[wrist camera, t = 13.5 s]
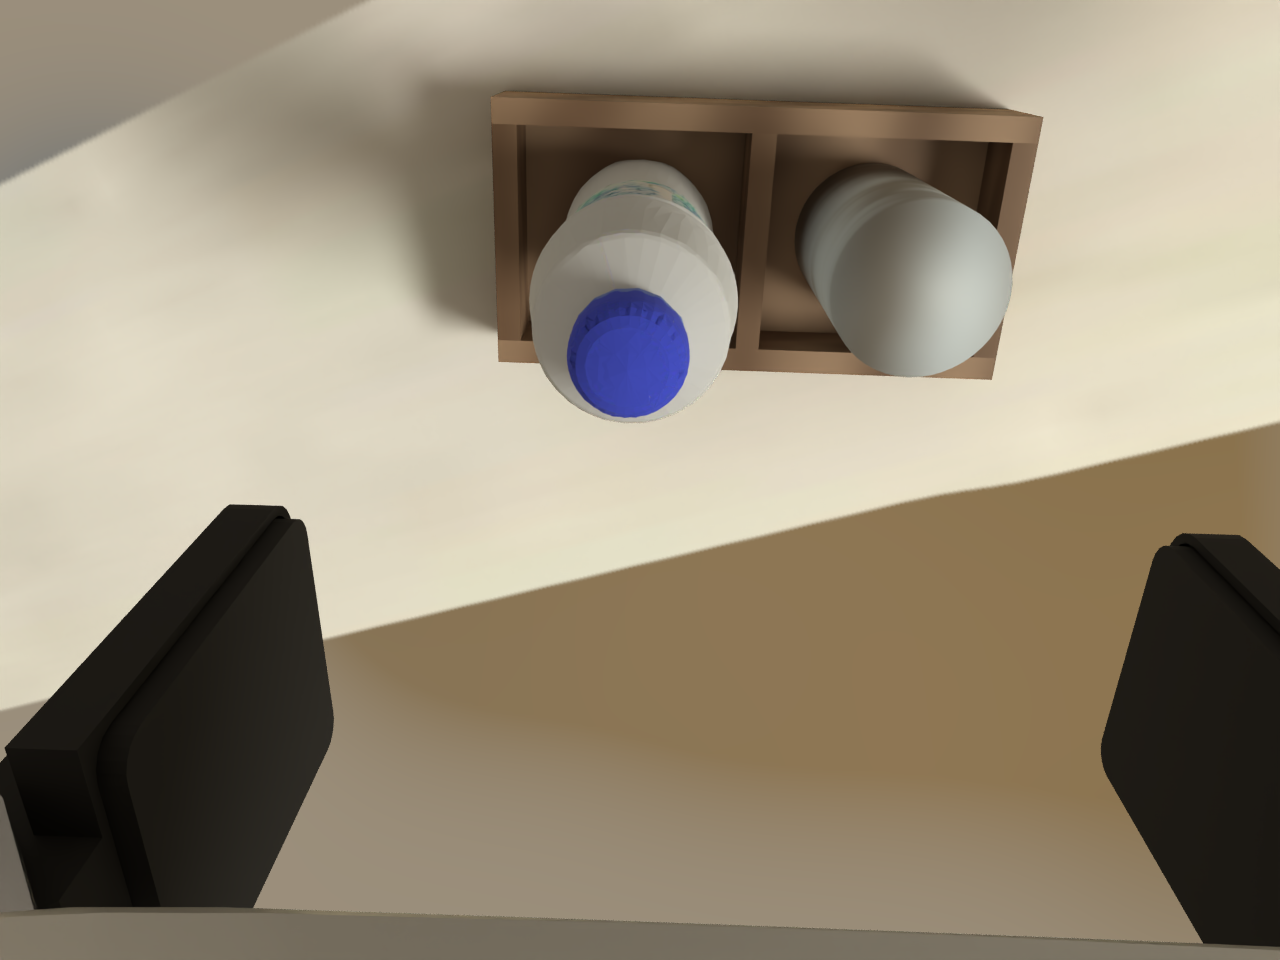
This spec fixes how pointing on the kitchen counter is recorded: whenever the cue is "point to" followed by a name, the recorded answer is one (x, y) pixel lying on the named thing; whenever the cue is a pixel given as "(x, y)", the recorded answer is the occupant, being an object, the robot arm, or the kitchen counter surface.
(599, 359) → the bottle
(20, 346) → the kitchen counter surface
